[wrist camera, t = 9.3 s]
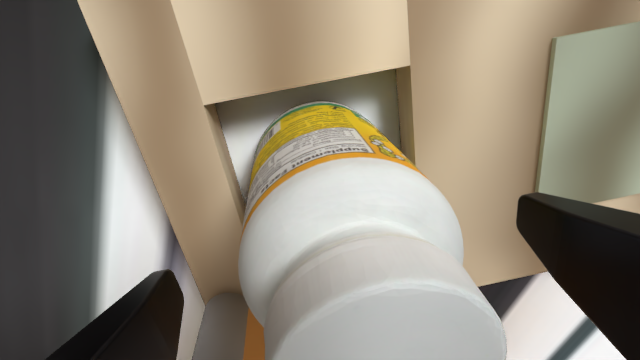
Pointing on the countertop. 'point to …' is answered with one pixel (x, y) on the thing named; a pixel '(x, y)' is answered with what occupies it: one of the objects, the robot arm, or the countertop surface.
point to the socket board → (413, 103)
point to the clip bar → (229, 331)
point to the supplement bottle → (355, 249)
